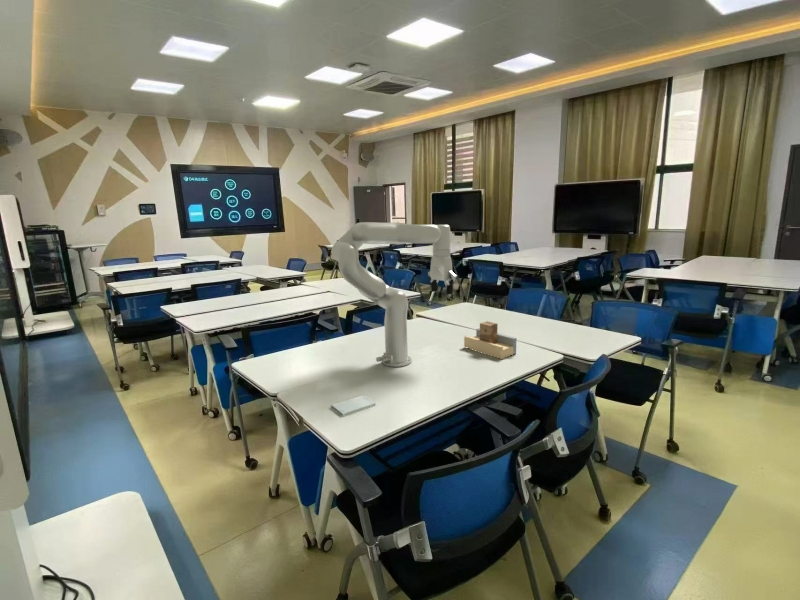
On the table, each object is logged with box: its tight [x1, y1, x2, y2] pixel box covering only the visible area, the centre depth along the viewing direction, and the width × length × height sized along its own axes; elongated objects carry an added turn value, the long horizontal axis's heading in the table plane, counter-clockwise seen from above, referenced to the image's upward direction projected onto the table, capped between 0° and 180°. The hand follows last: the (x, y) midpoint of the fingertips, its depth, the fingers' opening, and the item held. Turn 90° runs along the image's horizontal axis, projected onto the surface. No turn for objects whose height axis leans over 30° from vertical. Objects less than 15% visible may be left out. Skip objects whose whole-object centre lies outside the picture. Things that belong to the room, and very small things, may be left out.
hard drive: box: [330, 394, 377, 418], centre depth 135 cm, size 2×8×12 cm
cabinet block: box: [479, 320, 498, 344], centre depth 184 cm, size 6×6×9 cm
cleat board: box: [463, 327, 517, 360], centre depth 186 cm, size 10×22×8 cm, turn 36°
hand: (441, 292), depth 179 cm, fingers open, 9 cm apart
